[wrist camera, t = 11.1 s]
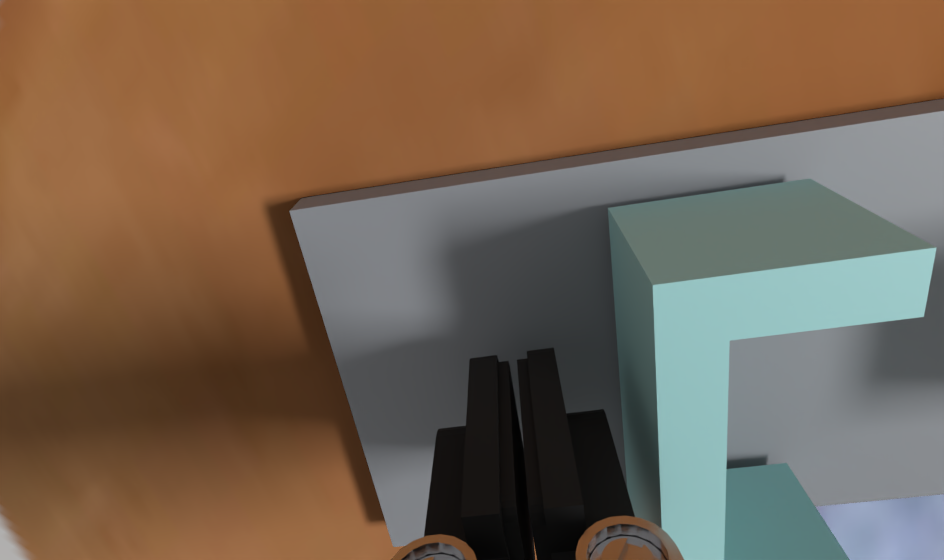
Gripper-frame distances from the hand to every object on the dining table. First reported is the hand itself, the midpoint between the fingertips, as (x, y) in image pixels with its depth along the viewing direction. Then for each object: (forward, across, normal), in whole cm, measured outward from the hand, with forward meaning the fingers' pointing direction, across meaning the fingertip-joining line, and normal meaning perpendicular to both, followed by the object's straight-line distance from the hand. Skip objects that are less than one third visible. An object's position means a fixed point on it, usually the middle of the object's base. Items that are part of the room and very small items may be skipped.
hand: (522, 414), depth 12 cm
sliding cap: (+1, -4, 0) cm, 4 cm away
